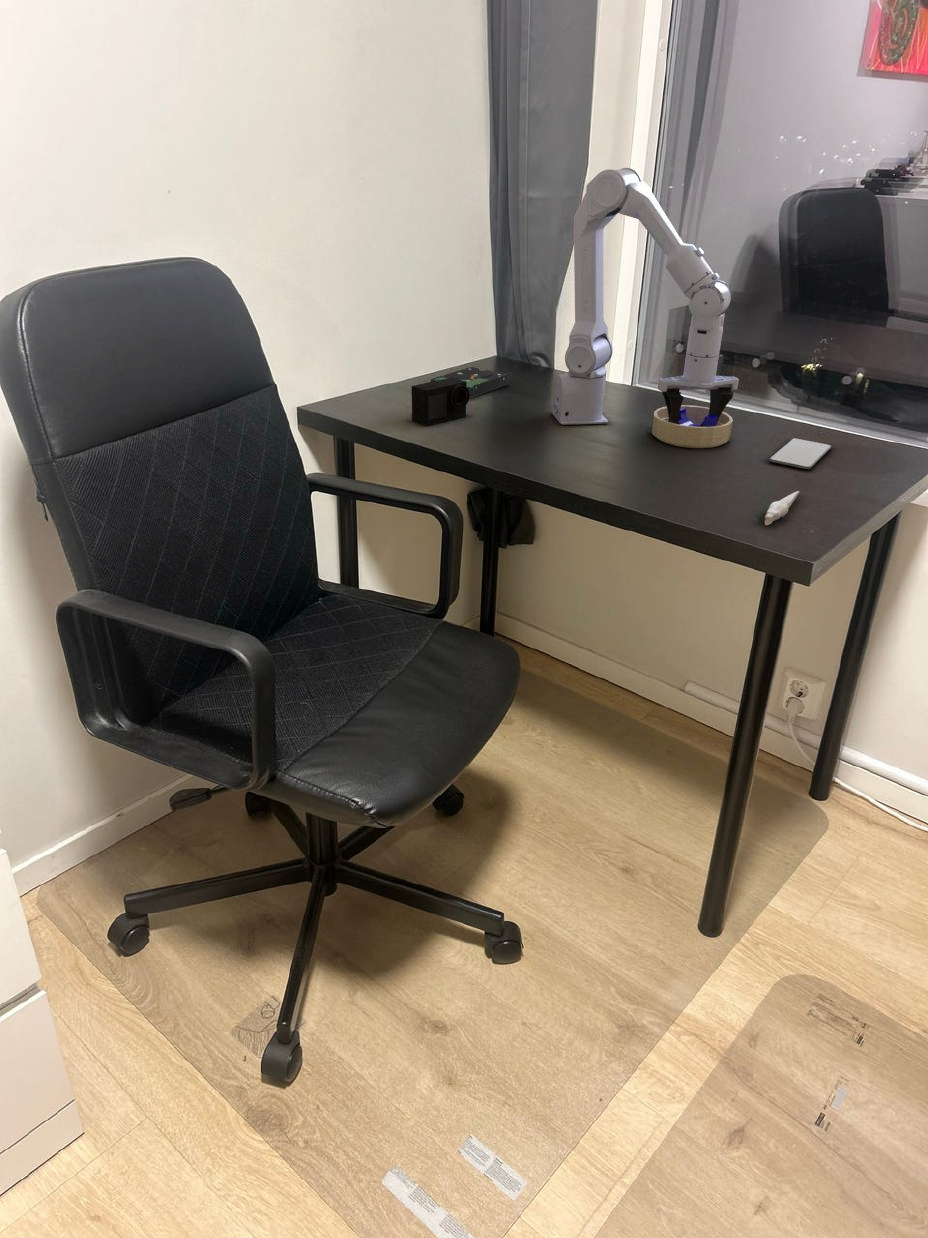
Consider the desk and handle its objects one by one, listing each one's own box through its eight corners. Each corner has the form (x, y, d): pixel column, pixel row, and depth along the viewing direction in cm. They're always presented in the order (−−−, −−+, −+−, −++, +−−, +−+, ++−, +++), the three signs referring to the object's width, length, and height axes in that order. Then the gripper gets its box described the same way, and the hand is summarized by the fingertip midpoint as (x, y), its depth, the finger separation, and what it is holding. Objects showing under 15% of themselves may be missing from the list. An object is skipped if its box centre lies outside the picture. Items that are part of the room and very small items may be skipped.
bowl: (666, 450, 157) (669, 428, 155) (641, 426, 169) (643, 406, 167) (741, 448, 159) (745, 426, 157) (711, 424, 171) (714, 404, 169)
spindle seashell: (774, 528, 127) (776, 516, 126) (756, 524, 129) (758, 512, 128) (806, 498, 138) (808, 487, 137) (789, 494, 139) (792, 483, 138)
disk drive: (469, 378, 199) (429, 391, 188) (470, 366, 197) (429, 378, 187) (507, 386, 194) (468, 399, 183) (508, 373, 192) (469, 386, 182)
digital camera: (429, 428, 166) (429, 391, 163) (411, 421, 170) (411, 385, 166) (470, 418, 172) (471, 382, 169) (452, 411, 176) (452, 376, 172)
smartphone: (832, 444, 159) (809, 467, 149) (831, 447, 160) (808, 470, 149) (793, 437, 163) (768, 458, 152) (793, 440, 163) (768, 461, 152)
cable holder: (666, 431, 165) (669, 410, 163) (676, 427, 167) (679, 406, 165) (704, 441, 160) (708, 419, 158) (714, 436, 163) (717, 415, 161)
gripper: (671, 359, 152) (661, 436, 159) (750, 358, 154) (737, 433, 161) (657, 350, 158) (648, 424, 165) (733, 349, 160) (722, 422, 167)
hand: (691, 428), depth 163 cm, fingers open, 7 cm apart
